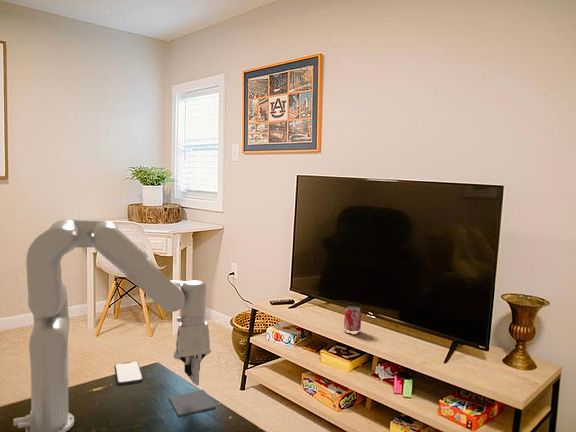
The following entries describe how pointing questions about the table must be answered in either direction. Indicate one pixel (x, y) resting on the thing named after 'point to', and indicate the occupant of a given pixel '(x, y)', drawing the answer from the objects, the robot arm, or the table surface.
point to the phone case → (128, 373)
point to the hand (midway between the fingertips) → (192, 373)
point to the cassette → (194, 370)
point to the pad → (191, 402)
